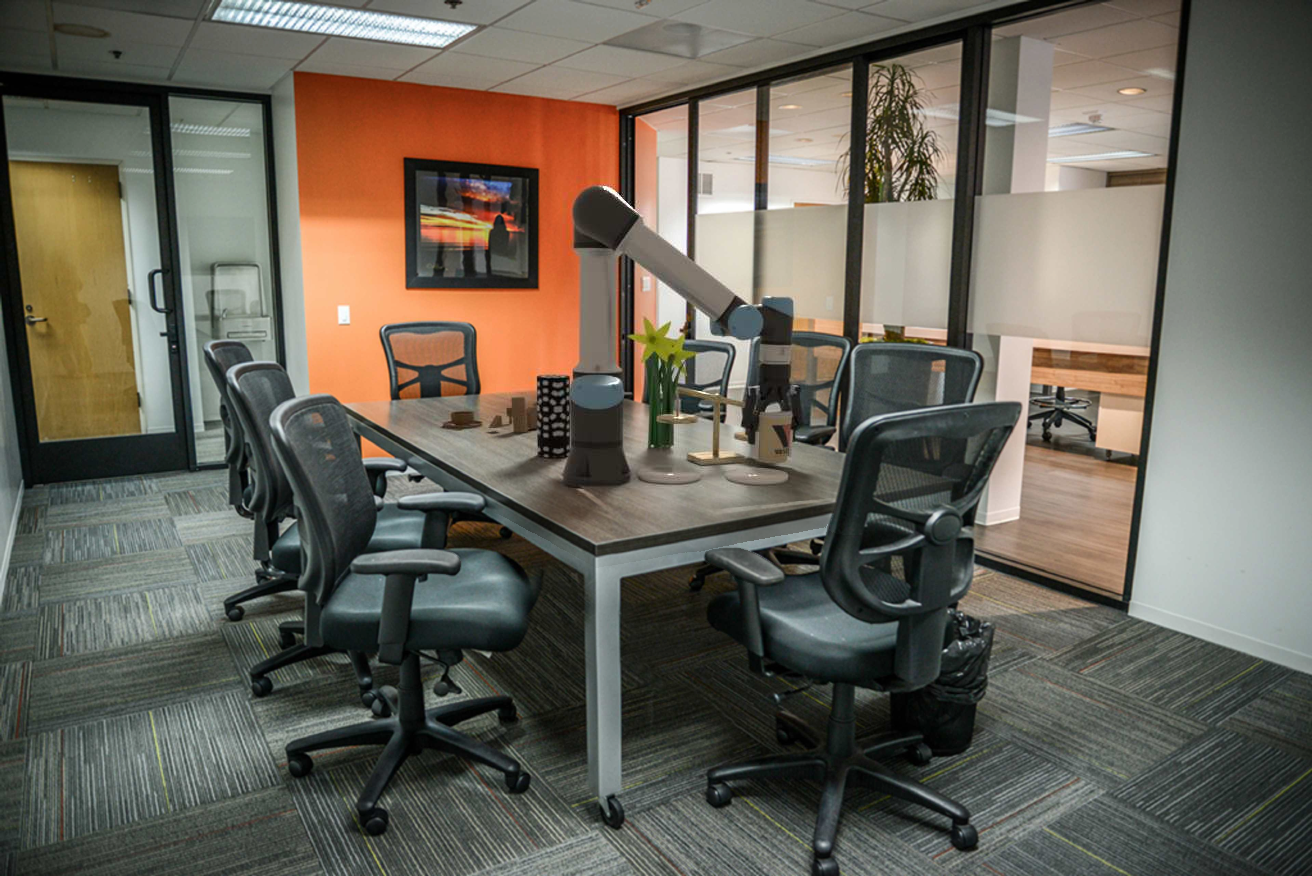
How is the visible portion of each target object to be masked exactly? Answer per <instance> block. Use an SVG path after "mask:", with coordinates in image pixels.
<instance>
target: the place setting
mask: <svg viewBox="0 0 1312 876" xmlns="http://www.w3.org/2000/svg"><path fill="white" fill-rule="evenodd" d="M505 413H506V417H508V419H509V421H508V423H509V425H513V416H512V407H506V412H505ZM472 423H473V424H472ZM483 423H484V422H483V421H481V420H475V412H474V411H469V410H461V411H452V412H451V413H450V420H447V421H444V422H442V426H443V428H446V429H447V431H458V432H459V431H462V430H466V429H476V428H480V427H482V426H483Z"/></svg>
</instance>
